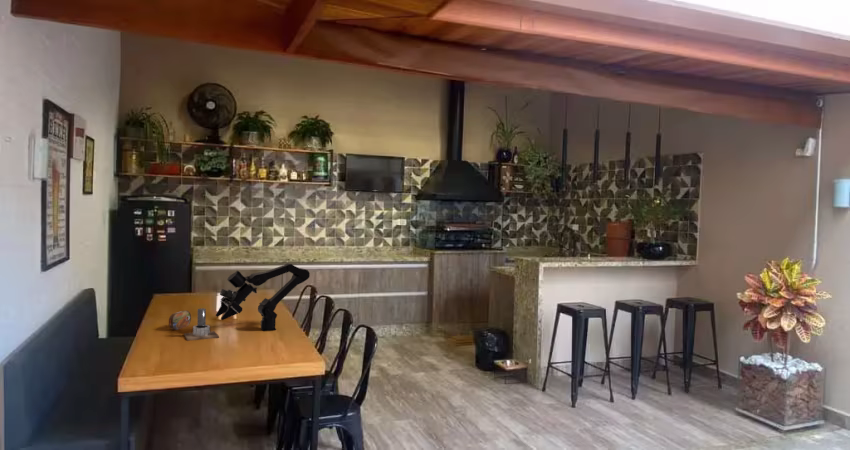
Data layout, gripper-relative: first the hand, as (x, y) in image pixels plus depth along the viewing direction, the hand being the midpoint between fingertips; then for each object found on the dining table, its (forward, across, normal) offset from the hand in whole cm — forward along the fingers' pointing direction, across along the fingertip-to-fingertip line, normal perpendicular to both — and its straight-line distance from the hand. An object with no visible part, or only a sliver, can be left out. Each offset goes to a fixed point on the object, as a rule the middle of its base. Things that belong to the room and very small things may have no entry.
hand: (218, 317), depth 272 cm
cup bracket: (+12, 0, 0) cm, 12 cm away
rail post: (+11, 0, 0) cm, 11 cm away
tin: (+15, -24, -3) cm, 28 cm away
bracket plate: (+12, 0, 0) cm, 12 cm away
